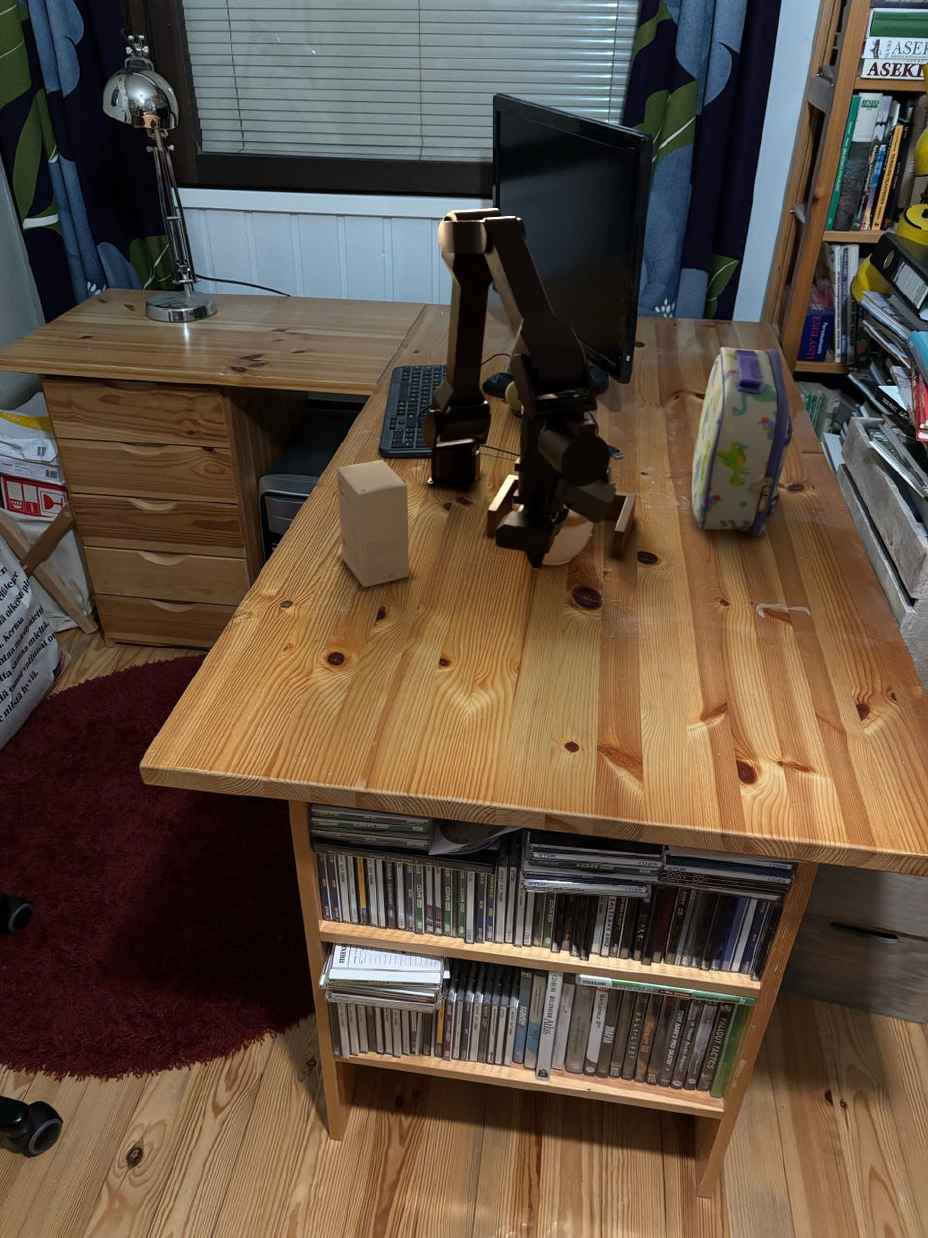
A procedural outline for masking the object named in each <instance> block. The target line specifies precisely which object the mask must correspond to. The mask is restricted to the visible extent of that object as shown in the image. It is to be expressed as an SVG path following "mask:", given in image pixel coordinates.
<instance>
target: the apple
mask: <svg viewBox="0 0 928 1238" xmlns="http://www.w3.org/2000/svg"><path fill="white" fill-rule="evenodd" d="M504 394H505V401H506V404H508V406H509V407H510V408H511V410H513V411H515V412H522V403H521V402H520V401H519V400H518V399H517V395H518V392H517V389H516V386H515V384H514V381H511V382H510V383H509V384H508V386H507V388H506V390H505V393H504Z"/></svg>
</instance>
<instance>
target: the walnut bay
mask: <svg viewBox="0 0 928 1238" xmlns="http://www.w3.org/2000/svg"><path fill="white" fill-rule="evenodd" d="M517 489H518V475H514V474H508V476H507V477H506V479H505V480H504V482H503V484H502V486H501V487H500V488H499V490H498V492H497V493H496V495H495V497H494V499H493V500H492V502H491V504H490V505H489V506H488V509H487V513H486V536H487V537H493V538H496V529H497V527H498V526H499V524H500V522H501V521H502V519H503V518H504V517H505V516H506V515H507V514H509V513H510V512H511V509H513V507H512V501H513V495H514V493H515V492H516V490H517ZM636 503H637V493H633V492H632V493H631V492H626V491H620V490H616V493H615V496H614V498H613V501H612V502H611V504H610V506H609V508H608V510H607V512H606V513H605V515H604V517H603V519H606V520H610V521H611V520H612V521H617V523H616V526H615V529H614V534H613V541H612V549H611V557H612V558H618V559H621V557H622V556H623V551H624V549H625V546H626V543H627V540H628V536H629V534H630V530H631V528H632V525H633V522H634V517H635V510H636Z"/></svg>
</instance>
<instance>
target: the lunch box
mask: <svg viewBox="0 0 928 1238" xmlns="http://www.w3.org/2000/svg"><path fill="white" fill-rule="evenodd" d="M703 399H704V400H703V405H702V409H701V415H700V420H699V424H698V430H697V436H696V442H695V446H694V453H693V460H692V472H691V508H692V512H693V513H692V514H693V516H694V518H695V521H696V523H697V526H698V528H700V529H703V530H731V531H732V530H737V531H740V532H747V533H748V534H749V535H751V536H754V537H760V536H761V534H762V532H763V530H764V529H765V527H766V525H767V524H769V523H770V524H771V523H772V522H773V521H774V517H775V514H776V510H777V507H778V503H779V498H780V494H776V493H777V490H778V486H779V483H780V479H781V476H782V472H783V469H784V465H785V461H786V458H787V455H788V450H789V446H790V444H791V442H792V435H793V430H794V429H793V424H792V419H791V413H790V401H789V400H790V399H789V396H788V391H787V388H786V384H785V379H784V373H783V366H782V357H781V353H780V352H779V351H778V350H777V349H775V348H769V349H766V350H764V349H744V348H736V347H735V348H734V347H727V346H722V347H720V348H719V351H718V354H717V355H716V358H715V360H714V363H713V366H712V368H711V372H710V375H709V379H708V383H707V386H706V391H705V394H704V398H703Z"/></svg>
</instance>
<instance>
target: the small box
mask: <svg viewBox="0 0 928 1238" xmlns="http://www.w3.org/2000/svg"><path fill="white" fill-rule="evenodd" d="M336 479H337V493H338V494H337V495H338V508H339V510H338V511H339V525H340V527H339V528H340V542H341V543H340V544H341V558H342V560H343V561H344V562H345V564H346V565H347V567H348V568H349V569H350V570H351V572H352V573H353V575H354V576H355V578H356V579H357V580H358V582H359V583H360V584H361V585H362V587H363V588H368V587H371V586H376V585H380V584H385V583H389V582H393V581H397V580H400V579H404V578H408V577H410V556H409V555H410V554H409V515H408V514H409V511H408V508H409V507H408V484H407V483H405V481H404V480H403V479H402V478H401V477H400V476H399V475H398V474H397V473H396V472H395V471H394V469H392V467H390V465H388V464H387V462H386V461H384V459H378V460H373V461H368V462H361V463H356V464H349V465H345V466H339V467H337V468H336Z"/></svg>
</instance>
